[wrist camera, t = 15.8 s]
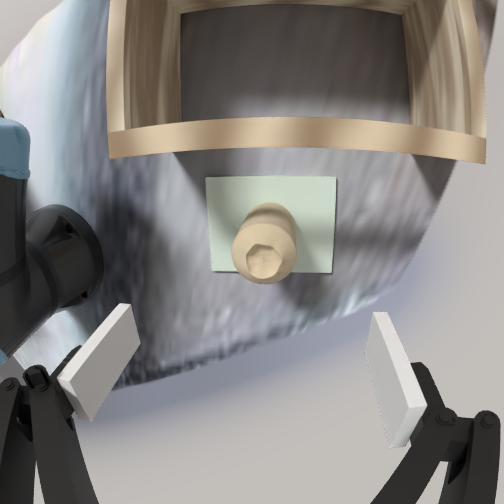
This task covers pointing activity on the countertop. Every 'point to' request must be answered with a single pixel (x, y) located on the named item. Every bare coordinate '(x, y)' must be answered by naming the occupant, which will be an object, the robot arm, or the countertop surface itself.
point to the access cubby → (297, 128)
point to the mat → (281, 192)
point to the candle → (265, 244)
